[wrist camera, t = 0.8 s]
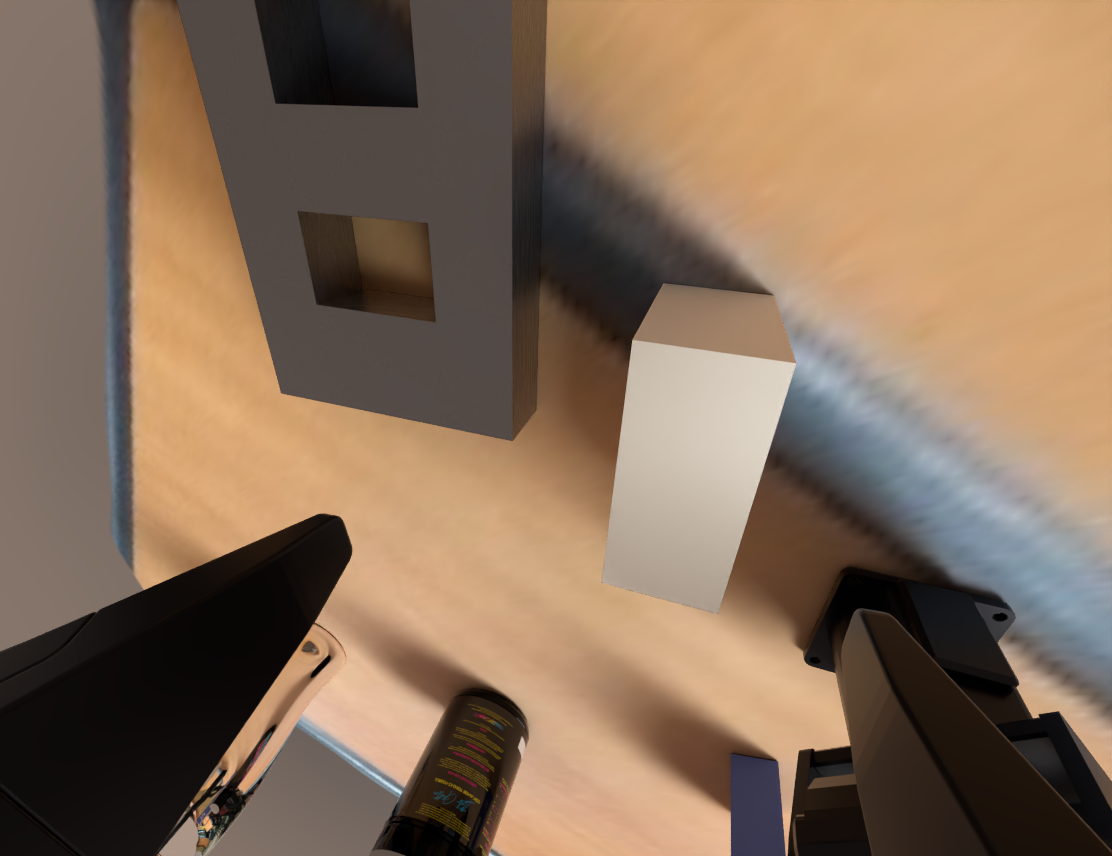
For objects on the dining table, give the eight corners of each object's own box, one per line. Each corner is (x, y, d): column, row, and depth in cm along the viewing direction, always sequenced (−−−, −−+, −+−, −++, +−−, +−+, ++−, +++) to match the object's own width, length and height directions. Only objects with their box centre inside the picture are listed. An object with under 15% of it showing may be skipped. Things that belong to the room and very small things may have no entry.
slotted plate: (536, 410, 23) (512, 441, 20) (324, 370, 26) (281, 393, 23) (553, -250, 13) (511, -349, 10) (205, -194, 16) (107, -260, 13)
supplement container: (444, 675, 37) (355, 836, 28) (526, 695, 34) (458, 876, 26) (460, 728, 40) (385, 888, 31) (537, 750, 38) (480, 928, 29)
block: (721, 493, 22) (717, 614, 16) (634, 475, 23) (601, 582, 17) (774, 295, 17) (796, 363, 12) (663, 283, 18) (632, 339, 13)
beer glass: (332, 619, 38) (134, 847, 25) (363, 678, 41) (200, 908, 28) (267, 609, 40) (57, 813, 28) (301, 666, 43) (126, 872, 31)
